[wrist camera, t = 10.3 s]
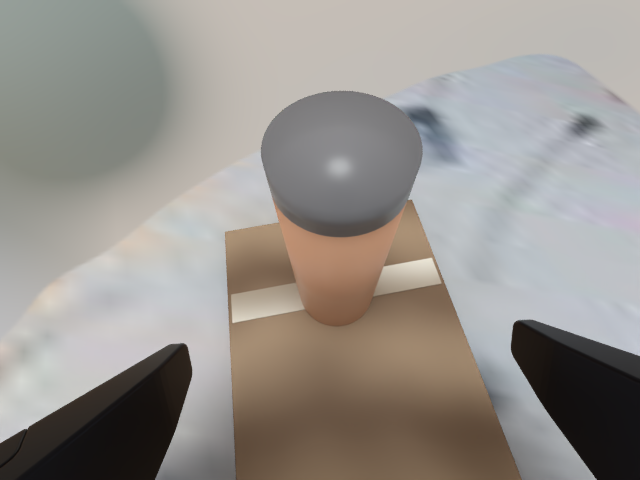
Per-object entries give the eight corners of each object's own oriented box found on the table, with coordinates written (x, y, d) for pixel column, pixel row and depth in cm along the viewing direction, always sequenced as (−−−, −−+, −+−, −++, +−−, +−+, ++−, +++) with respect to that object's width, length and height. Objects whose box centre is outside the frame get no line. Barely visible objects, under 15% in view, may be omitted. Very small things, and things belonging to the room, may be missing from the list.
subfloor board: (645, 831, 10) (679, 876, 9) (266, 944, 9) (259, 1005, 8) (408, 208, 21) (412, 198, 20) (229, 239, 21) (224, 231, 20)
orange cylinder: (387, 299, 17) (457, 158, 8) (326, 341, 16) (317, 242, 7) (344, 245, 19) (357, 72, 9) (286, 280, 18) (233, 130, 8)
